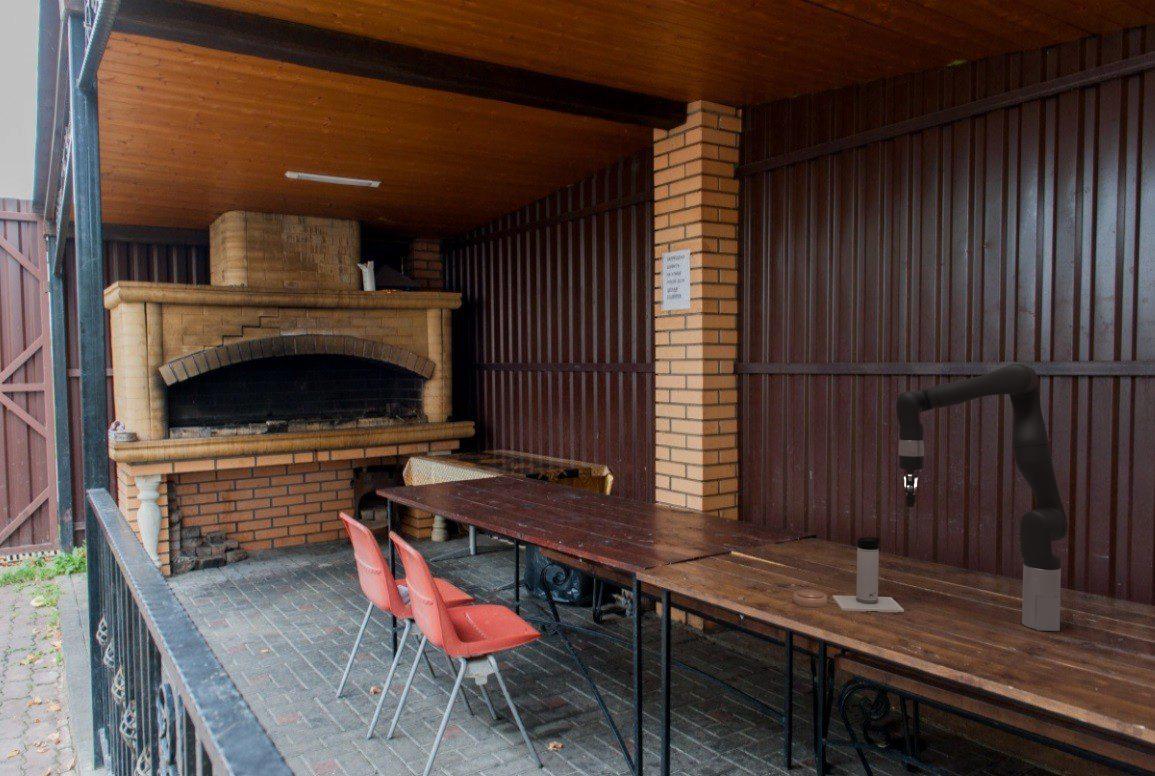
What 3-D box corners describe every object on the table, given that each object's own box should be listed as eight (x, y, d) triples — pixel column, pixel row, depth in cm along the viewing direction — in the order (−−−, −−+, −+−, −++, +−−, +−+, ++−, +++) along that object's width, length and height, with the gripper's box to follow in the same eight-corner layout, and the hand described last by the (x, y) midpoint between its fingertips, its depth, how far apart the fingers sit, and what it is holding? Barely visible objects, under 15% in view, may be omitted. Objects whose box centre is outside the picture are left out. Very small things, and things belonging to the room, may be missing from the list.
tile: (904, 612, 240) (904, 609, 240) (842, 610, 242) (842, 607, 242) (891, 599, 253) (891, 596, 253) (832, 597, 255) (832, 595, 255)
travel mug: (876, 605, 244) (877, 540, 243) (854, 602, 248) (855, 537, 247) (880, 600, 250) (882, 536, 249) (858, 597, 253) (859, 533, 252)
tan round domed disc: (830, 607, 245) (830, 598, 245) (796, 606, 246) (796, 597, 246) (823, 598, 255) (823, 588, 255) (791, 597, 256) (791, 587, 256)
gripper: (923, 456, 248) (923, 509, 248) (925, 452, 261) (924, 502, 261) (896, 455, 251) (896, 507, 251) (900, 451, 264) (900, 501, 264)
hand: (911, 504), depth 256 cm, fingers open, 8 cm apart
